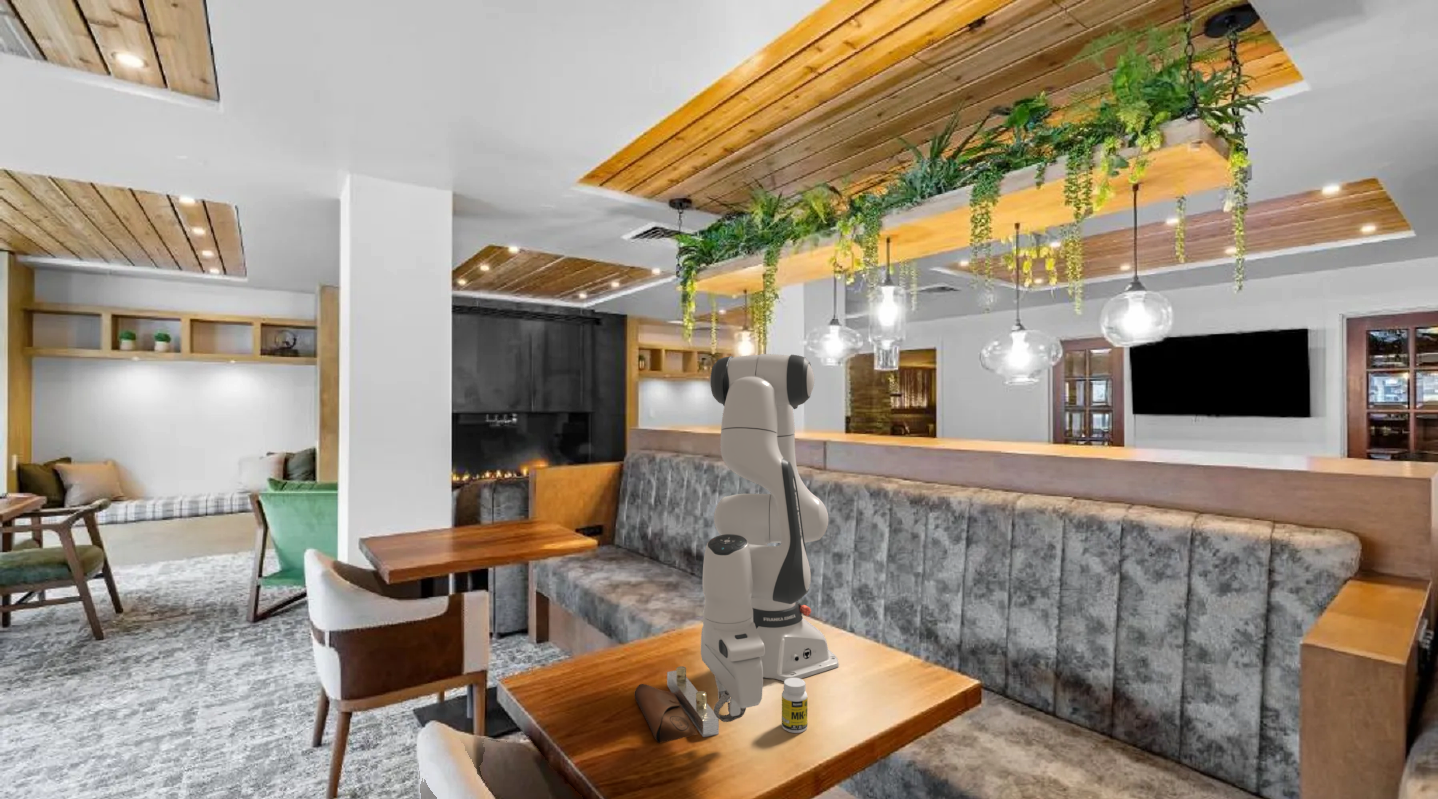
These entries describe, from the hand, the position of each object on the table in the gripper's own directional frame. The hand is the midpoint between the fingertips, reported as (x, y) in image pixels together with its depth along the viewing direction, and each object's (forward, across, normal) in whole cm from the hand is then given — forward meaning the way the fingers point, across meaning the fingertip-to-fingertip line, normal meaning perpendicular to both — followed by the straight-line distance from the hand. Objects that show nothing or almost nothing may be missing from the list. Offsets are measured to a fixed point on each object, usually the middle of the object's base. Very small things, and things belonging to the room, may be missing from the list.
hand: (729, 707), depth 114 cm
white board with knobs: (+7, -15, -2) cm, 17 cm away
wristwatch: (+2, 0, 0) cm, 2 cm away
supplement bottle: (+7, -1, +14) cm, 15 cm away
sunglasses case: (+8, -14, -8) cm, 18 cm away
